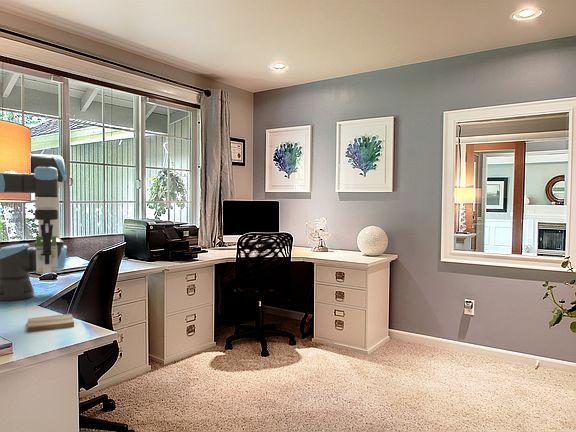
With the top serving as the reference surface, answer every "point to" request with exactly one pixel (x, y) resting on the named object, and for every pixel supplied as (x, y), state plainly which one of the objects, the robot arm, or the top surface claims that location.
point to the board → (50, 322)
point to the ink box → (40, 258)
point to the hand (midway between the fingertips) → (47, 271)
